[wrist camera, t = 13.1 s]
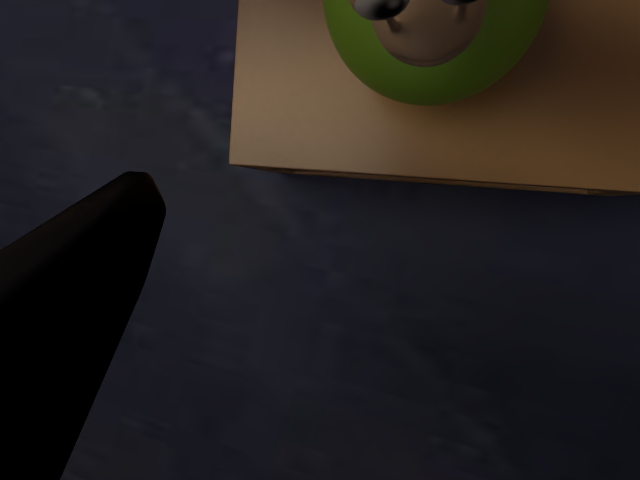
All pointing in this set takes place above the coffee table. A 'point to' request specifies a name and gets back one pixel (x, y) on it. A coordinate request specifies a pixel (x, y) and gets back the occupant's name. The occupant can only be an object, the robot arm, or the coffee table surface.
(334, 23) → the snail figurine
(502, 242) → the coffee table surface
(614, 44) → the tan rectangular block
